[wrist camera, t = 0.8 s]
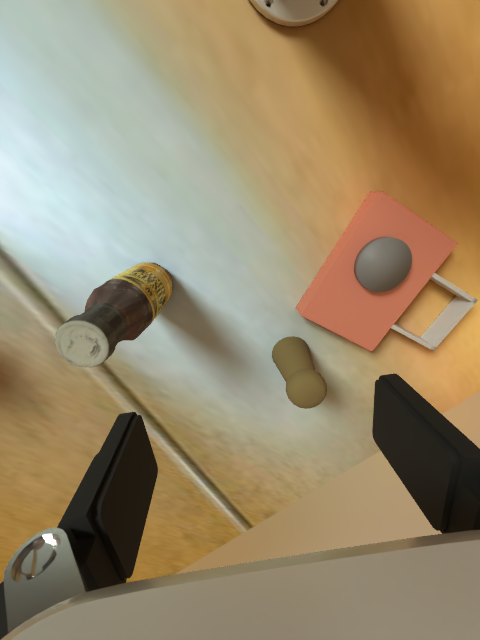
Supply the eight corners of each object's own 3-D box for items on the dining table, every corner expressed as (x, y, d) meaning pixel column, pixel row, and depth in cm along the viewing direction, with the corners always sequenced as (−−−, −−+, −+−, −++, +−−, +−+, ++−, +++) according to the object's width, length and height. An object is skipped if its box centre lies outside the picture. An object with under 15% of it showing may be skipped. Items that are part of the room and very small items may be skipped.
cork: (264, 354, 45) (275, 399, 35) (291, 329, 43) (312, 367, 33) (289, 375, 46) (307, 423, 36) (316, 351, 45) (343, 395, 35)
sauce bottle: (183, 289, 40) (148, 363, 21) (147, 310, 41) (85, 398, 22) (155, 249, 37) (89, 293, 19) (118, 273, 38) (22, 336, 20)
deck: (369, 192, 36) (387, 190, 32) (483, 268, 41) (510, 275, 37) (295, 307, 42) (302, 318, 38) (402, 362, 47) (418, 377, 43)
